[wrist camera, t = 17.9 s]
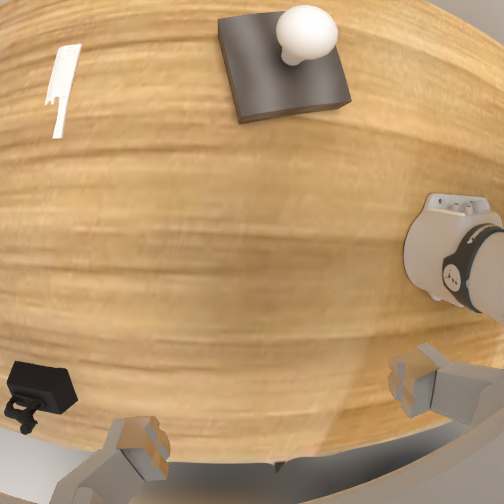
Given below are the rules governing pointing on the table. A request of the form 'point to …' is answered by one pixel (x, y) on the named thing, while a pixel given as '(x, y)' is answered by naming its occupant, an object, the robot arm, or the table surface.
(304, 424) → the table surface
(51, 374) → the sculpture
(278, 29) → the lightbulb
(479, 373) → the robot arm
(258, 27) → the charcoal block
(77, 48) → the white plastic blade
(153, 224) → the table surface
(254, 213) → the table surface
